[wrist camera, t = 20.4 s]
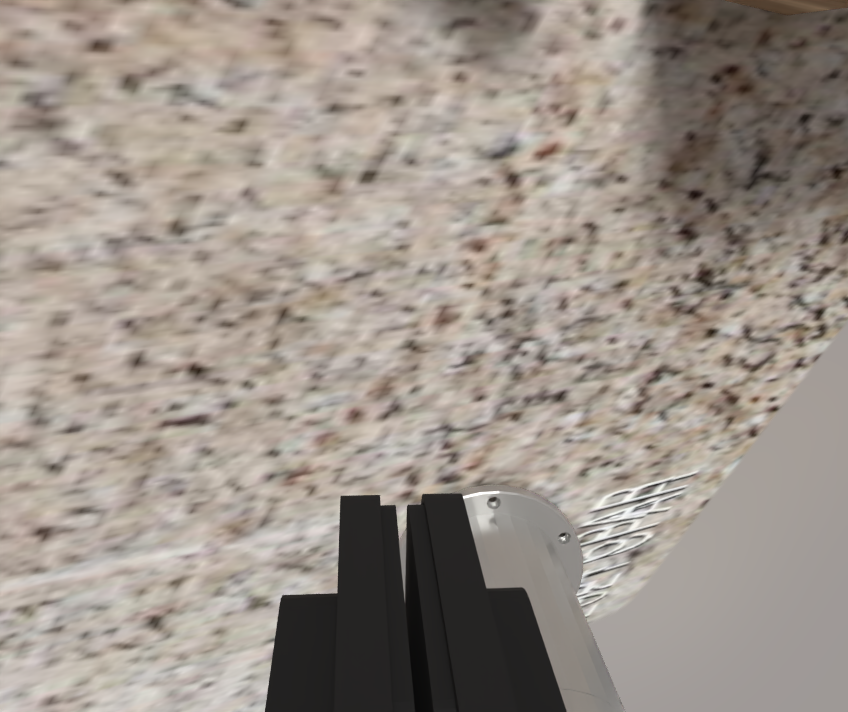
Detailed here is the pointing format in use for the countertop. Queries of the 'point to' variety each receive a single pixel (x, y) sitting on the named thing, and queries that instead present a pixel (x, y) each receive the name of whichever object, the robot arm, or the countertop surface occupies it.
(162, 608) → the countertop surface
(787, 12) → the tan toy brick
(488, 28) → the countertop surface
